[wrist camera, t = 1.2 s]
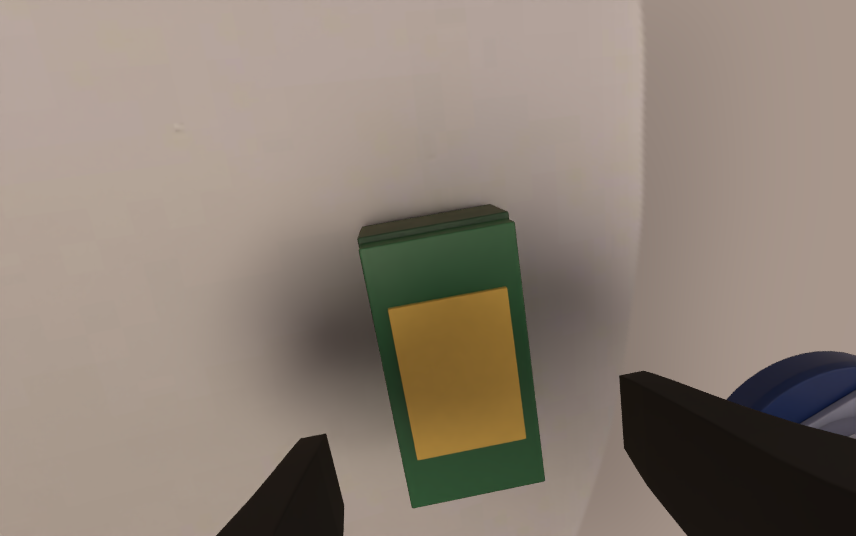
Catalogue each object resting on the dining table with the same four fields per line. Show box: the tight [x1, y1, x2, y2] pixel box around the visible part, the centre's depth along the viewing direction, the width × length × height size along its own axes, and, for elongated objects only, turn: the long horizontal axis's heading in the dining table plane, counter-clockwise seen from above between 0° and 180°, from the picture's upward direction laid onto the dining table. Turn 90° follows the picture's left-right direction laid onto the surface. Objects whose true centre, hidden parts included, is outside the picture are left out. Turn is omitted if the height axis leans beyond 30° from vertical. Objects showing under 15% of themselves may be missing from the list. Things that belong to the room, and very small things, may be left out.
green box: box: [357, 204, 545, 508], centre depth 16 cm, size 9×5×4 cm, turn 9°
